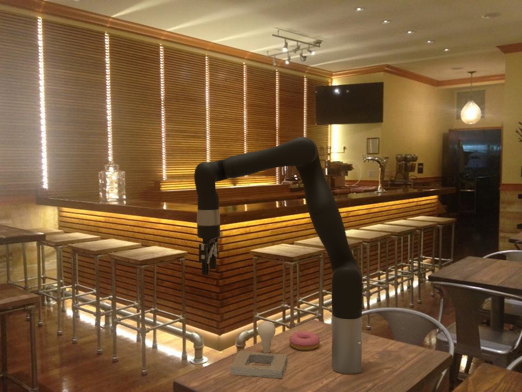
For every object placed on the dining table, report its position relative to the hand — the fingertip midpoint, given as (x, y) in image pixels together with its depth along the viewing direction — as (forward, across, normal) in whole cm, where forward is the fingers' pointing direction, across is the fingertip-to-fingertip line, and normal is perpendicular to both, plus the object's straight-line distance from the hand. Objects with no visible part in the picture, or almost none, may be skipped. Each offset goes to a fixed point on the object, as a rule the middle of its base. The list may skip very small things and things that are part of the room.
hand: (209, 271), depth 157 cm
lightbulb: (+29, +7, -18) cm, 35 cm away
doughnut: (+30, +16, -30) cm, 45 cm away
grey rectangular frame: (+29, -5, -18) cm, 35 cm away
